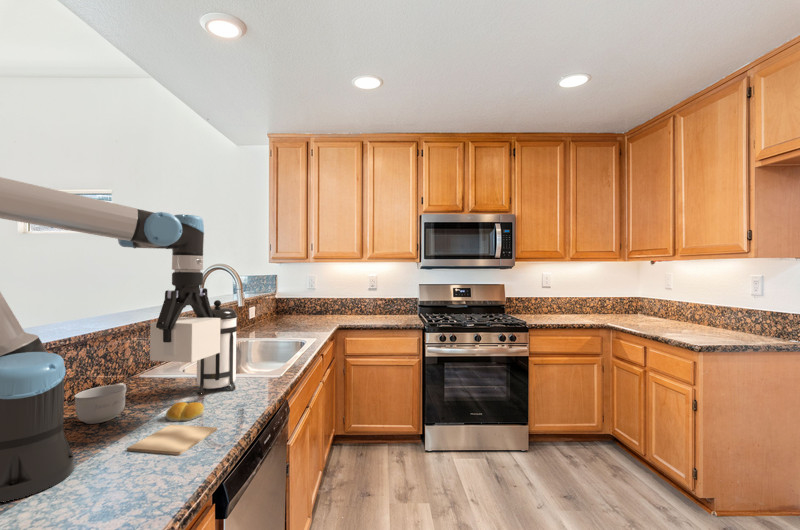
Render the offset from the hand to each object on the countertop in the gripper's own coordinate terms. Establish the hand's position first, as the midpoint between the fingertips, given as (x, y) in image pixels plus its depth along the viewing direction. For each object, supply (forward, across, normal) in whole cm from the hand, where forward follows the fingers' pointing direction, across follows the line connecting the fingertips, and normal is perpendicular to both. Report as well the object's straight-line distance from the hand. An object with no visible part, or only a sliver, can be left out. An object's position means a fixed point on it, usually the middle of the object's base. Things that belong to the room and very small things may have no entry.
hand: (186, 349), depth 104 cm
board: (+18, -13, -8) cm, 24 cm away
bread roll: (+19, 0, 0) cm, 19 cm away
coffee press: (+18, +23, +6) cm, 30 cm away
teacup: (+19, -4, +21) cm, 28 cm away
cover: (+2, 0, 0) cm, 2 cm away
